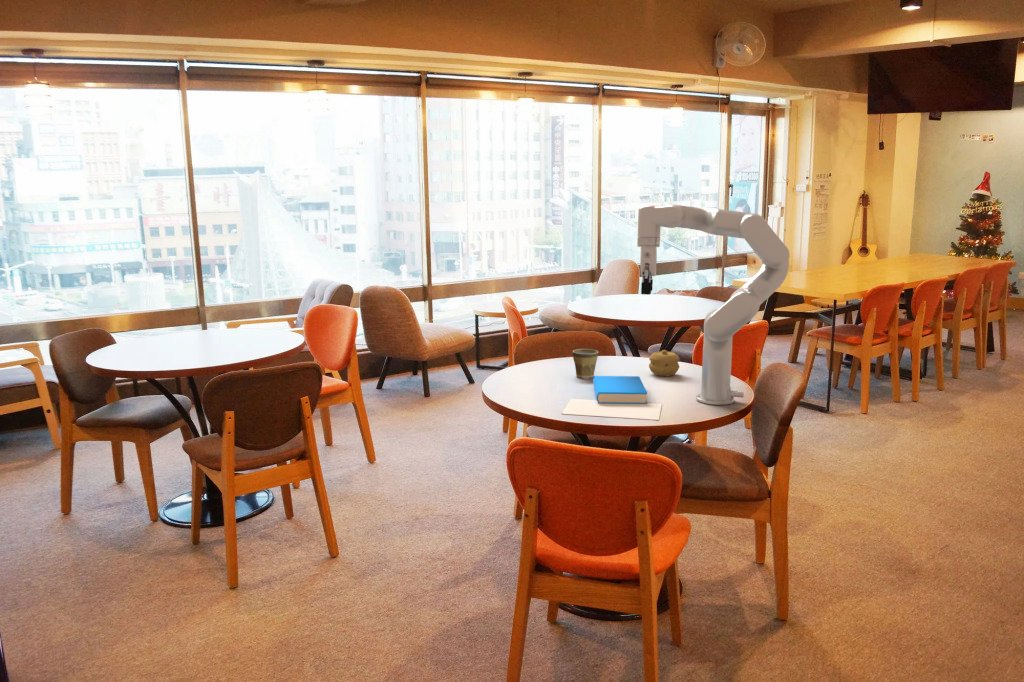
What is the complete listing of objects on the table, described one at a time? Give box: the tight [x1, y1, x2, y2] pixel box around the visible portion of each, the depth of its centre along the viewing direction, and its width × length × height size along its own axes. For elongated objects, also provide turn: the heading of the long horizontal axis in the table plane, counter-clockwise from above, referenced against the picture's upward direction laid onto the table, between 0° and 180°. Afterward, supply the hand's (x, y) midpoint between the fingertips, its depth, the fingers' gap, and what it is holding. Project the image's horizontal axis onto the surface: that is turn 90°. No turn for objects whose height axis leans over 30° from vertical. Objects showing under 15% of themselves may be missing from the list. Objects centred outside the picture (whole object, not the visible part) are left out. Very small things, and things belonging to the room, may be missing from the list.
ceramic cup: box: [572, 348, 599, 379], centre depth 310 cm, size 13×10×10 cm
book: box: [592, 375, 648, 404], centre depth 281 cm, size 17×4×25 cm
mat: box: [561, 398, 663, 421], centre depth 263 cm, size 31×19×1 cm, turn 77°
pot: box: [648, 349, 680, 377], centre depth 311 cm, size 12×12×10 cm
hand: (646, 292), depth 273 cm, fingers open, 9 cm apart
